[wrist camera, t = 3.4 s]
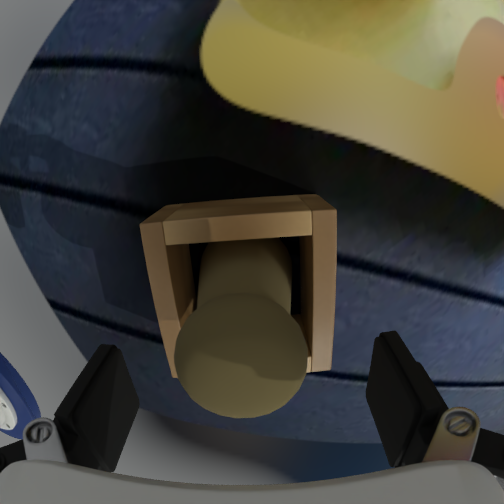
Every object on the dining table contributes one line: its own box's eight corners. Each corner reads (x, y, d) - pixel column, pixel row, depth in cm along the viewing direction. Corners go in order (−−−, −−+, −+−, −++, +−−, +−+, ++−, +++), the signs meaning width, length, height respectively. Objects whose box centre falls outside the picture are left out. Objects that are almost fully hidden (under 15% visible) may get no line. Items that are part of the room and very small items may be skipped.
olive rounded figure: (311, 266, 21) (360, 376, 10) (250, 326, 22) (248, 454, 12) (240, 205, 19) (225, 275, 9) (181, 274, 21) (125, 385, 10)
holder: (186, 334, 22) (172, 378, 18) (165, 205, 19) (138, 223, 15) (317, 326, 22) (331, 370, 17) (316, 193, 19) (336, 209, 14)
